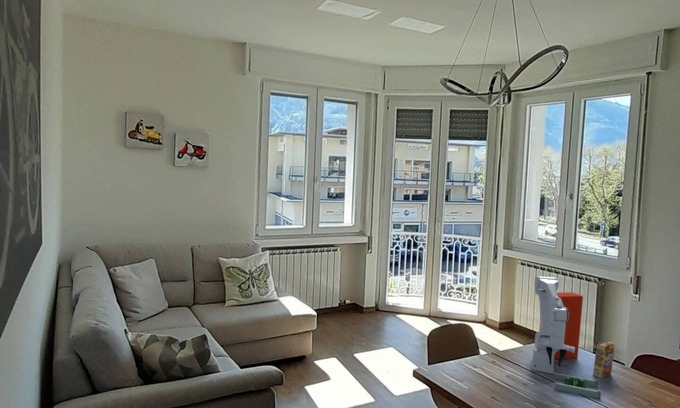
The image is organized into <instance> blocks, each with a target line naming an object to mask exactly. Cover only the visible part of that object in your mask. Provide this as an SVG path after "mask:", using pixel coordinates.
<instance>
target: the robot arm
mask: <svg viewBox="0 0 680 408" xmlns="http://www.w3.org/2000/svg"><path fill="white" fill-rule="evenodd" d="M559 284H560V283H559V278H558V277H555V276H552V277H551V276H539V275H536V276H535V278H534V293H535V295H538V300H539V313H540V315H539V317H540V324H541V330H540V329H539V331H537V332H536V333H535V335H534V348H533V350H532V351H533V352H532V353H533V354H532V360H531V370H533V371H537V372H540V373H541V372H543V373H545V374H546V373H547V374H551V375H554V372H555V371H554V369H555V368H554V361H555V359H554V354H556V352H557V351H558V350H560V354H559V359H558V363H557V367H561V363H562V361H563V360H564V359H565V358H564V356H565V355H566V351H570V352H573V353H574V352H575V347H572V346H568V345H564V337H565V326H566V322H567V321H568V318H569V313H568V309H567V308H566V307H564V306H563V303H562V300H561V298H560V297H558V296H557V293H558V292H557V291H558V289H559Z"/></svg>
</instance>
